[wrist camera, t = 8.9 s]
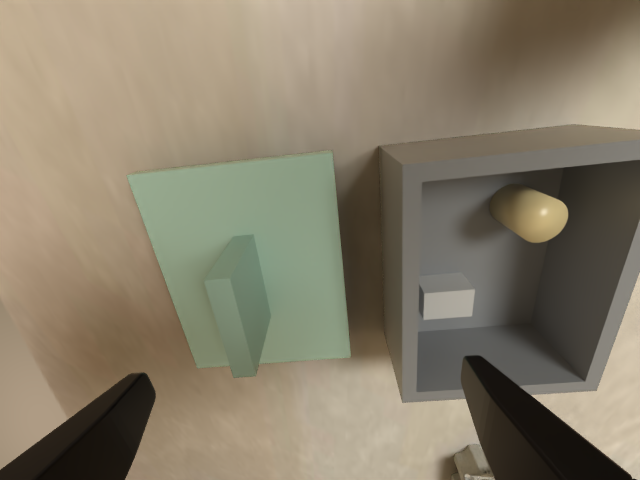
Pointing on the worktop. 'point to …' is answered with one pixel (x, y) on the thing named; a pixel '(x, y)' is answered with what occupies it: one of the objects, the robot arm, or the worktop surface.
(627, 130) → the tub
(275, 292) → the lid
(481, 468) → the egg carton
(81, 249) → the worktop surface
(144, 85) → the worktop surface
